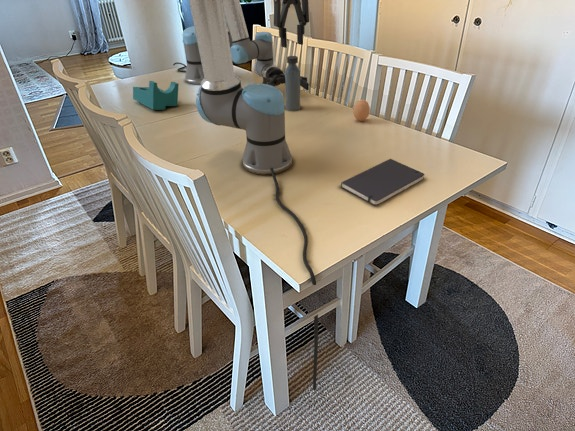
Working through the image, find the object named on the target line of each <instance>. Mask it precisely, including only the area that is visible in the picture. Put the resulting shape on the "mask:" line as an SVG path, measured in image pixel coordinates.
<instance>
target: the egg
mask: <svg viewBox="0 0 575 431" xmlns="http://www.w3.org/2000/svg"><path fill="white" fill-rule="evenodd" d="M352 112H353V113H352V115H353V117H354V118H355V120H357V121H360V122H362V121H365V120H367V119H368V118H369V116H370V112H371V108H370V105H369V102H368V101H367V100H366V99H359V100H357V101H356V102H355V104H354V106H353V111H352Z"/></svg>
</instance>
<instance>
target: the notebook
mask: <svg viewBox="0 0 575 431" xmlns="http://www.w3.org/2000/svg"><path fill="white" fill-rule="evenodd" d="M424 176H425V173H424V172H422V171H420V170H417V169H415V168H413V167H410V166H408V165H406V164H404V163H401V162H399V161H397V160H395V159H393V158H389V159H387V160H385V161H382V162H380V163H379V164H377V165H375V166H372V167H370V168H368V169H366V170H364V171H362V172H360V173H358V174H356V175H353V176H351V177H350V178H348V179H345V180H344V181H341V182H340V183H341V184H340V187H341V188H342V189H344V190H345V191H347V192H349V193H350V194H353V195H355V196H356V197H358V198H360V199H362V200H363V201H365V202H367V203H369V204H371V205H373V206H379V205H381V204H382V203H384V202H386V201H388V200H390V199H391V198H393V197H395V196H397V195H398V194H400V193H402V192H404V191H406V190H407V189H409V188H411V187H413V186H415V185H416V184H418V183H420V182H422V181H423V180H424Z"/></svg>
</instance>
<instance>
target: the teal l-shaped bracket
mask: <svg viewBox="0 0 575 431" xmlns="http://www.w3.org/2000/svg"><path fill="white" fill-rule="evenodd" d="M132 100H134V101H136V102H138V103H140V104H142V105H144V106H145V107H147V108H148V109H151V110H153V111H155V110H157V111H159V110H160V111H163V110H164V111H165V110H166V107H178V100H179V83H178V82H176V81H170V85H169V87H168V88H167V89H166V90H163V89H162V88H159V87H158V82H156V81H154V80H149V81H148V86H132Z"/></svg>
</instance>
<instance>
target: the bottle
mask: <svg viewBox="0 0 575 431" xmlns="http://www.w3.org/2000/svg"><path fill="white" fill-rule="evenodd" d="M284 75H285V84H284V89H285V90H284V92H285V110H286V111H291V112H295V111H299V110H300V109H301V86H300V76H301V69H300V67H299V66H298V65H297V63H296V64H289V63H288V65H287V66H286V68H285V69H284Z"/></svg>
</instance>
